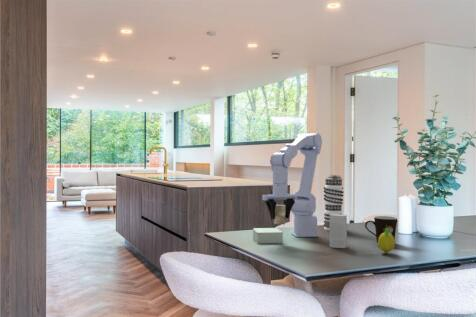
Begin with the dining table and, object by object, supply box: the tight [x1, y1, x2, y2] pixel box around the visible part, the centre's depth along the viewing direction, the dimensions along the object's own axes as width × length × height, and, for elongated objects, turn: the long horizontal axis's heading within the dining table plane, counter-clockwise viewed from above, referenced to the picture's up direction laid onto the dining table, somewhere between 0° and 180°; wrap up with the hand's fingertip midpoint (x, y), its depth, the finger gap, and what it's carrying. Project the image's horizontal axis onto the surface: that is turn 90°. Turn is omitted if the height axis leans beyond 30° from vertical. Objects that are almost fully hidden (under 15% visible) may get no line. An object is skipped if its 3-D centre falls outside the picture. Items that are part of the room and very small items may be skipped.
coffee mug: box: [364, 215, 398, 244], centre depth 164 cm, size 12×9×10 cm
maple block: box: [273, 204, 287, 225], centre depth 162 cm, size 4×4×7 cm
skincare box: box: [329, 214, 348, 249], centre depth 156 cm, size 6×4×12 cm
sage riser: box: [252, 227, 284, 244], centre depth 167 cm, size 10×10×4 cm
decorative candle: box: [323, 174, 344, 231], centre depth 195 cm, size 9×9×25 cm
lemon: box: [377, 225, 396, 255], centre depth 145 cm, size 7×6×10 cm
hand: (279, 218), depth 162 cm, fingers closed on maple block, 6 cm apart
